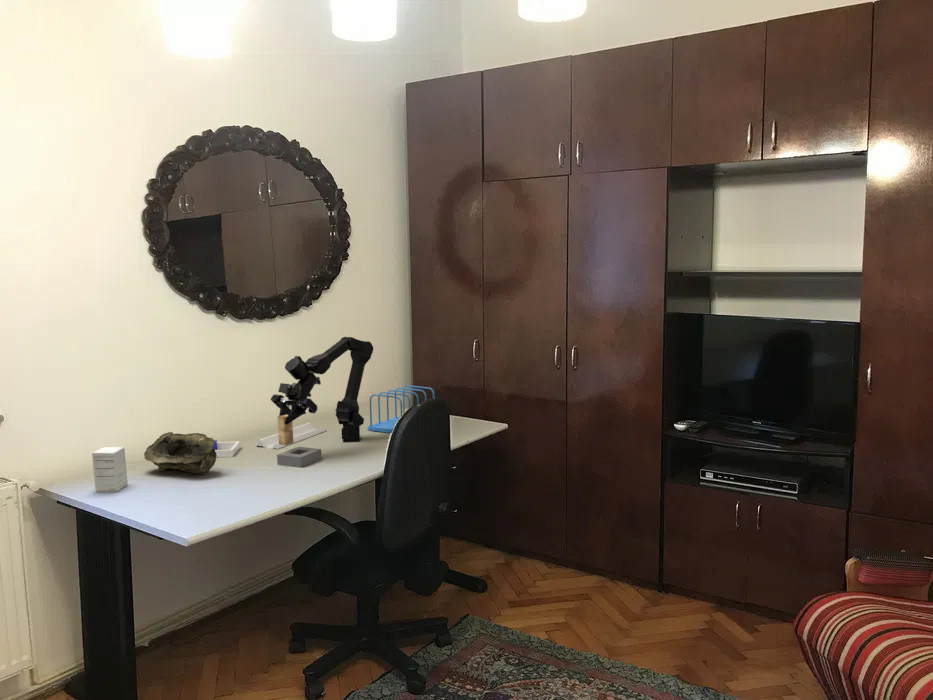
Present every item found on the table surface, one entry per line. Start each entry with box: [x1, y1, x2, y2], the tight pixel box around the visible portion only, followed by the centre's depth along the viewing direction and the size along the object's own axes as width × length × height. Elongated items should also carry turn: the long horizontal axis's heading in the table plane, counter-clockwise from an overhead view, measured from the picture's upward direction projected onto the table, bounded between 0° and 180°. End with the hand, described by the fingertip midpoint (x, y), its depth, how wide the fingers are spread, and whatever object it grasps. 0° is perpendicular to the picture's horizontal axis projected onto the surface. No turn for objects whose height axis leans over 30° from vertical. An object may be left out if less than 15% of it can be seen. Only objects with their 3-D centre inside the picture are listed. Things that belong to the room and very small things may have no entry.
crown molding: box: [253, 422, 327, 450], centre depth 314 cm, size 31×12×4 cm, turn 155°
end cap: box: [276, 446, 323, 468], centre depth 279 cm, size 12×10×4 cm
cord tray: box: [215, 441, 241, 458], centre depth 294 cm, size 13×13×2 cm
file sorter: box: [367, 385, 435, 434], centre depth 329 cm, size 25×17×15 cm
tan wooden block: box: [277, 415, 294, 446], centre depth 280 cm, size 4×3×10 cm
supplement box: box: [91, 446, 129, 493], centre depth 252 cm, size 7×7×13 cm
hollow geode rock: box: [143, 431, 217, 476], centre depth 270 cm, size 28×13×15 cm
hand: (282, 423), depth 279 cm, fingers closed on tan wooden block, 3 cm apart
